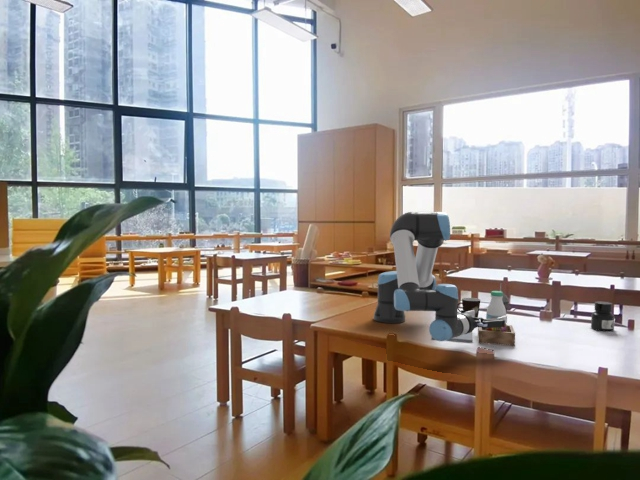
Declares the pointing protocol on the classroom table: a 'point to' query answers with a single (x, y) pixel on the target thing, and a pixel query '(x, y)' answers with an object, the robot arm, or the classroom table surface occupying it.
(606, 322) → the ink bottle
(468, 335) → the mat
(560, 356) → the classroom table surface
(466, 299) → the coffee mug
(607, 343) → the classroom table surface
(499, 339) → the caddy
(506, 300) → the beverage cup
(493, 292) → the milk bottle
